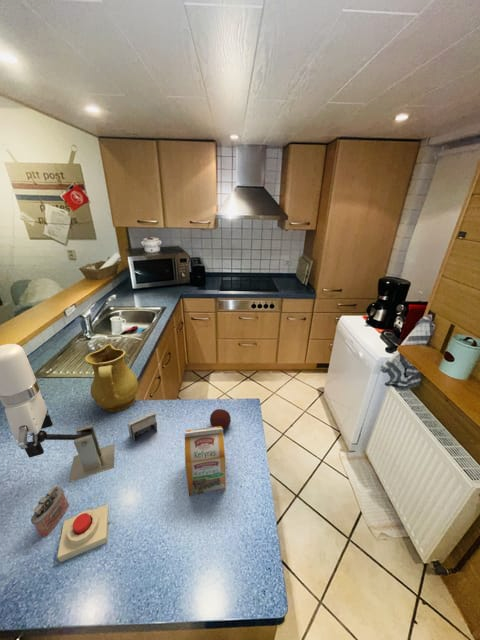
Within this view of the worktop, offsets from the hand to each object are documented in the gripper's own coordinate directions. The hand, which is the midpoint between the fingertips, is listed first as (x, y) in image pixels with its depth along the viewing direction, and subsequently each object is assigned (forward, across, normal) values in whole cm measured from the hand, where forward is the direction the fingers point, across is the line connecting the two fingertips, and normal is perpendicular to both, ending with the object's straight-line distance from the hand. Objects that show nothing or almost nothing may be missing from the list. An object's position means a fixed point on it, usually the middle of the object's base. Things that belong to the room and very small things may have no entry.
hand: (41, 440), depth 70 cm
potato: (+16, +1, +52) cm, 54 cm away
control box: (+15, +20, +10) cm, 27 cm away
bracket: (+15, 0, +10) cm, 18 cm away
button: (+12, +20, +10) cm, 25 cm away
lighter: (+16, +14, +2) cm, 21 cm away
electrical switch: (+16, -5, +26) cm, 31 cm away
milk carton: (+16, +17, +42) cm, 48 cm away
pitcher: (+16, -27, +16) cm, 35 cm away
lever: (+2, 0, +4) cm, 5 cm away
